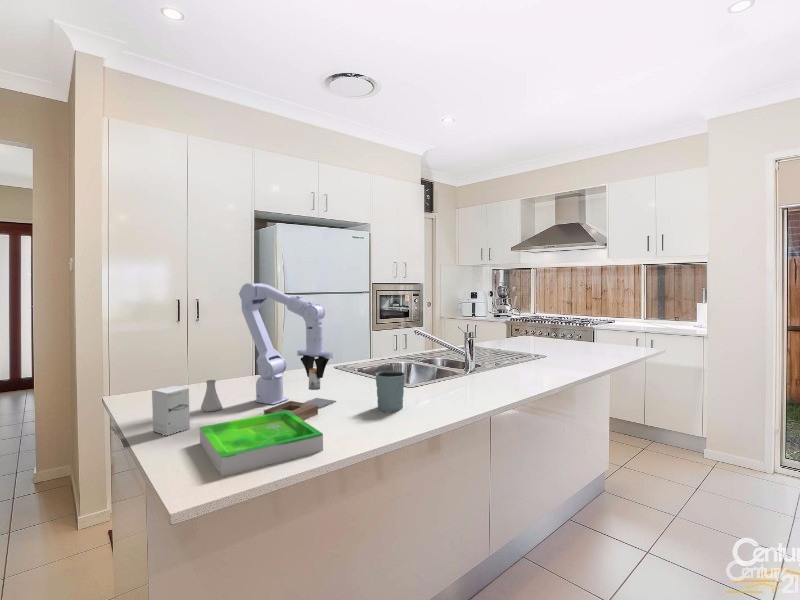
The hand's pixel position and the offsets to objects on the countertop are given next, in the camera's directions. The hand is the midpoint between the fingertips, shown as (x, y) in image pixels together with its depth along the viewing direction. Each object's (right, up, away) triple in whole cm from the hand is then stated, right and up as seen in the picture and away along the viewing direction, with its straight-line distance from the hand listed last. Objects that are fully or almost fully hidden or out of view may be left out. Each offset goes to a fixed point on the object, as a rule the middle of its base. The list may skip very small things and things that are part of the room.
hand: (315, 377), depth 153 cm
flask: (-35, -11, -3) cm, 37 cm away
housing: (-5, -11, -13) cm, 17 cm away
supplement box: (-38, -12, -25) cm, 47 cm away
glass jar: (0, -4, 0) cm, 4 cm away
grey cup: (+27, -10, -4) cm, 29 cm away
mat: (+1, -10, +2) cm, 10 cm away
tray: (-7, -13, -38) cm, 40 cm away
